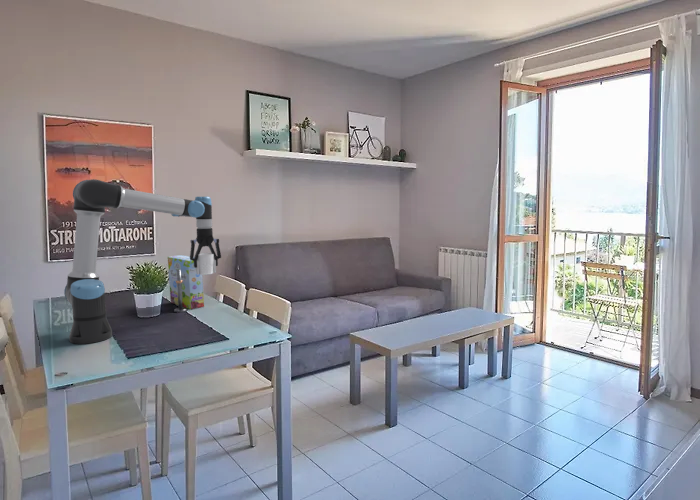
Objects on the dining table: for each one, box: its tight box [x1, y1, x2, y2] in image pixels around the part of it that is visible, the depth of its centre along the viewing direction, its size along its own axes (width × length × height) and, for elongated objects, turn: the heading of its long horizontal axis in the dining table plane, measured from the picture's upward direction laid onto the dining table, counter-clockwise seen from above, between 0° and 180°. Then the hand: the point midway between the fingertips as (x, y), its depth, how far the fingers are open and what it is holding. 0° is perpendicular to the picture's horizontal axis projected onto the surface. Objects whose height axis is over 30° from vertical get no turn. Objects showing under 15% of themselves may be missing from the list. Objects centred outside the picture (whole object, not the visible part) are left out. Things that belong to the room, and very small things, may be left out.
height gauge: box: [174, 270, 188, 313], centre depth 226 cm, size 6×6×21 cm
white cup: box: [198, 252, 214, 276], centre depth 226 cm, size 8×8×10 cm
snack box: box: [167, 254, 205, 310], centre depth 238 cm, size 22×9×26 cm, turn 49°
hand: (206, 273), depth 226 cm, fingers closed on white cup, 8 cm apart
